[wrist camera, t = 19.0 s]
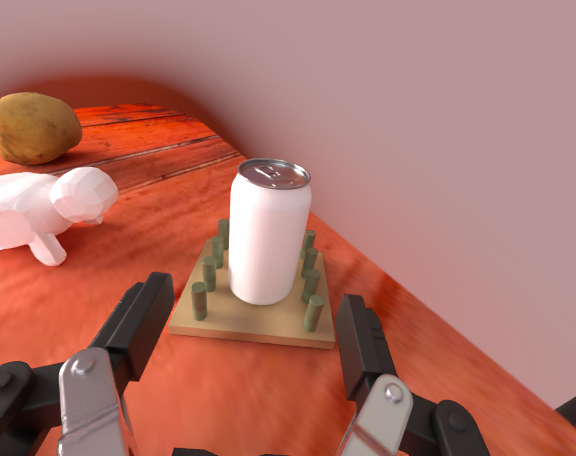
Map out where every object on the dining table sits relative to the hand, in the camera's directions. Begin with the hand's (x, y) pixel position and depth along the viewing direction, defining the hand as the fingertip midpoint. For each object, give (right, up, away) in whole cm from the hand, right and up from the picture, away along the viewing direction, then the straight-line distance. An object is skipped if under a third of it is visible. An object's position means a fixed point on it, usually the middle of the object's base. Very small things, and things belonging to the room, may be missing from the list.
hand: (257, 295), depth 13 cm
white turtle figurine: (-24, +2, +17) cm, 30 cm away
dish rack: (-2, -3, +15) cm, 16 cm away
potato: (-39, +15, +33) cm, 53 cm away
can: (-1, -2, +15) cm, 15 cm away
